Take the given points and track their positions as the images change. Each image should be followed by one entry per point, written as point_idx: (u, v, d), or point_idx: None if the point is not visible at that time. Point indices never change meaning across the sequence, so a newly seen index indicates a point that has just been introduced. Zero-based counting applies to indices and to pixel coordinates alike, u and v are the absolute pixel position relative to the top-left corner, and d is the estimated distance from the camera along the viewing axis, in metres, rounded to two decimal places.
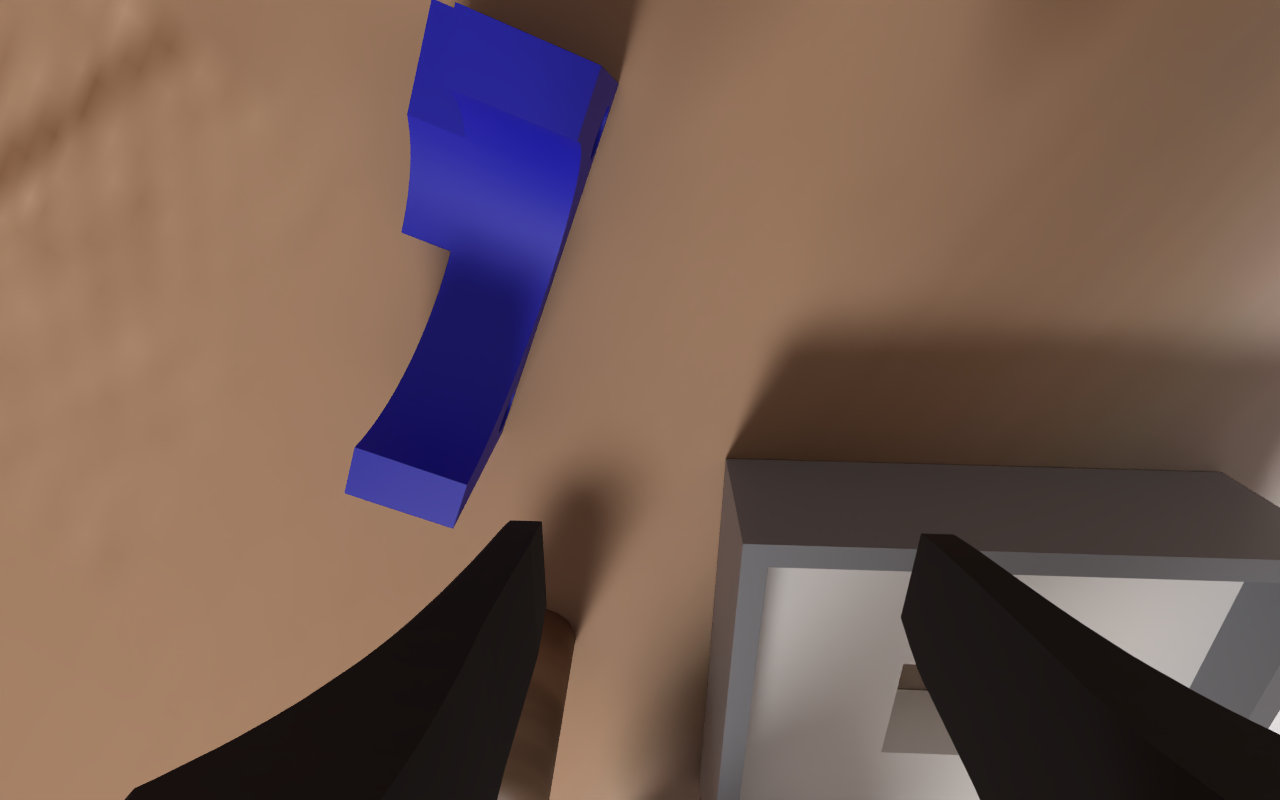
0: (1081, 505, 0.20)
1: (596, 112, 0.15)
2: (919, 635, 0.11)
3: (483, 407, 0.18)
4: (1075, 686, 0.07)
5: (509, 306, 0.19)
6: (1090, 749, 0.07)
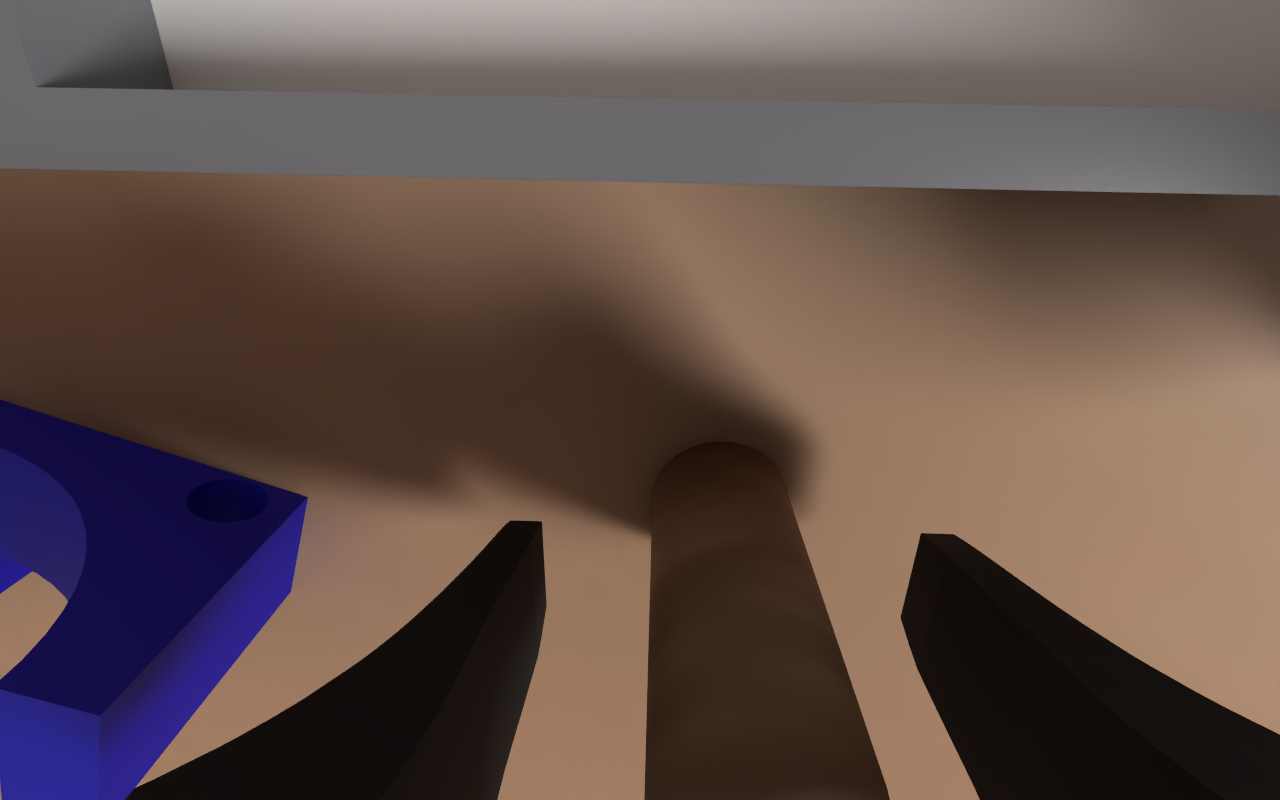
0: None
1: None
2: (919, 635, 0.11)
3: None
4: (1076, 687, 0.07)
5: (21, 491, 0.13)
6: (1090, 749, 0.07)
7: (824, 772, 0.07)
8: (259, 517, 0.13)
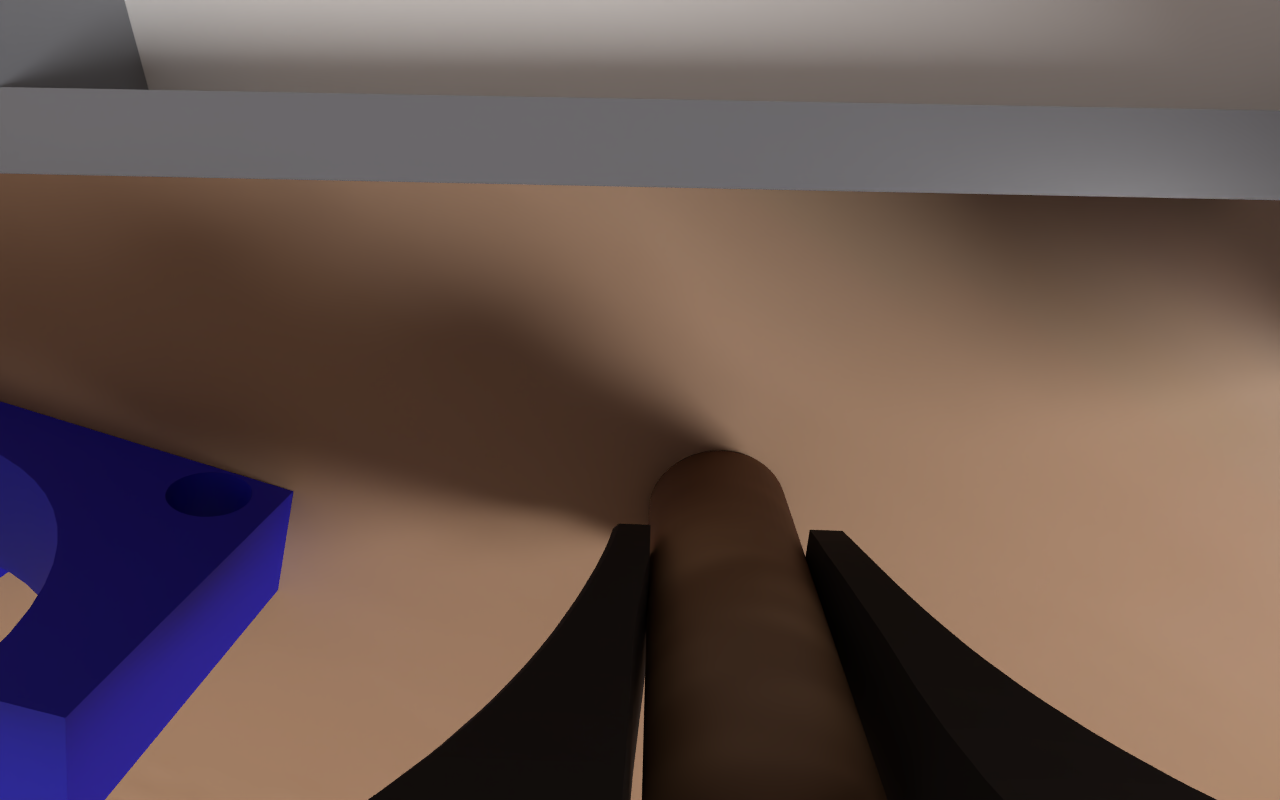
0: None
1: None
2: None
3: None
4: (906, 681, 0.08)
5: None
6: (914, 742, 0.07)
7: None
8: (242, 511, 0.13)
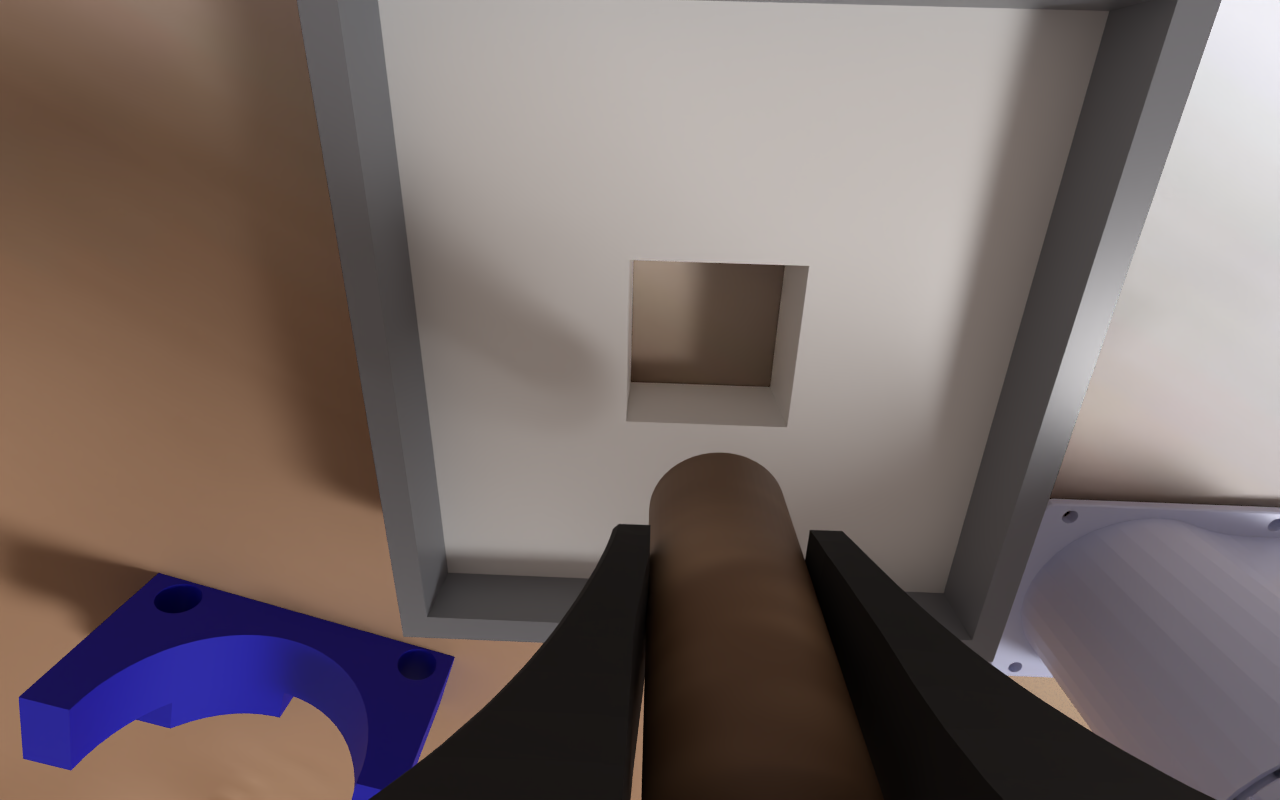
0: None
1: (104, 651, 0.21)
2: None
3: (362, 715, 0.23)
4: (906, 680, 0.08)
5: (312, 665, 0.24)
6: (914, 742, 0.07)
7: None
8: (434, 674, 0.25)
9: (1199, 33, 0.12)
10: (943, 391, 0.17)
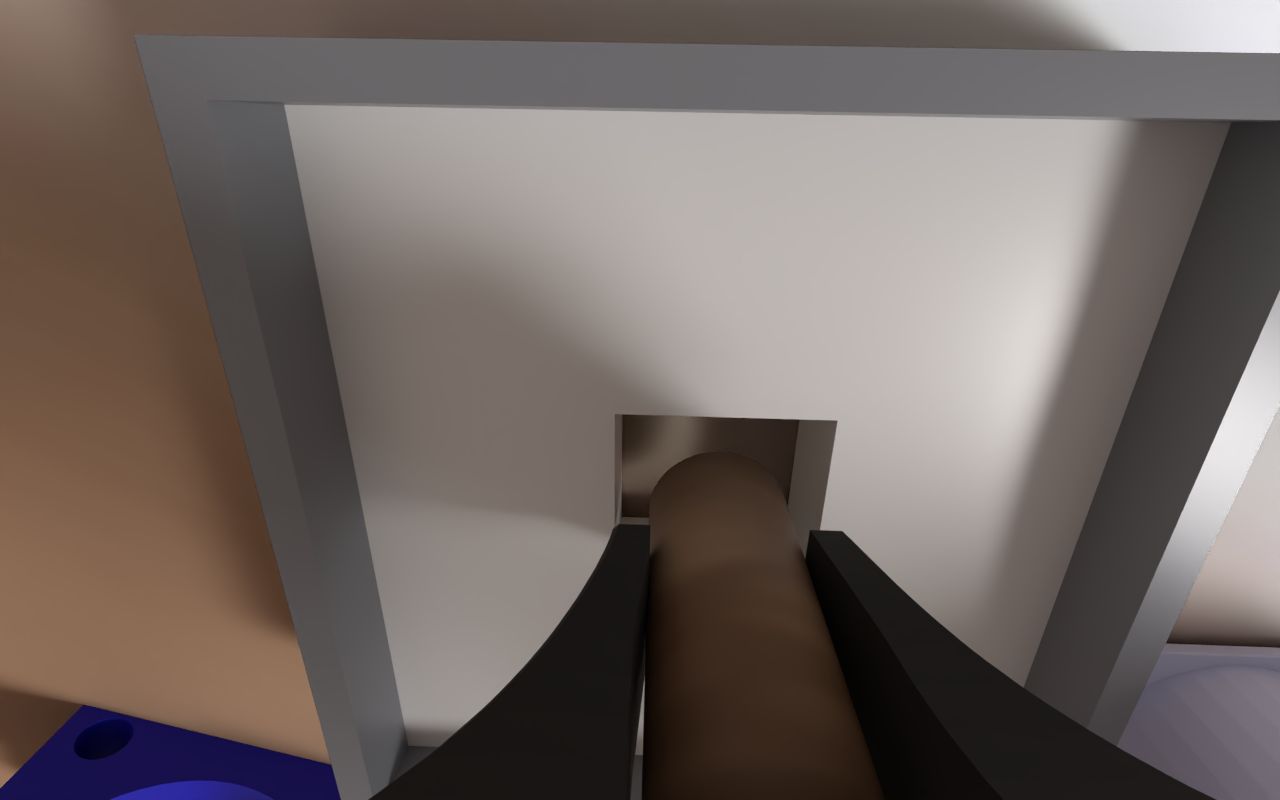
0: None
1: None
2: None
3: None
4: (906, 680, 0.08)
5: None
6: (914, 742, 0.07)
7: None
8: None
9: None
10: (1000, 558, 0.14)
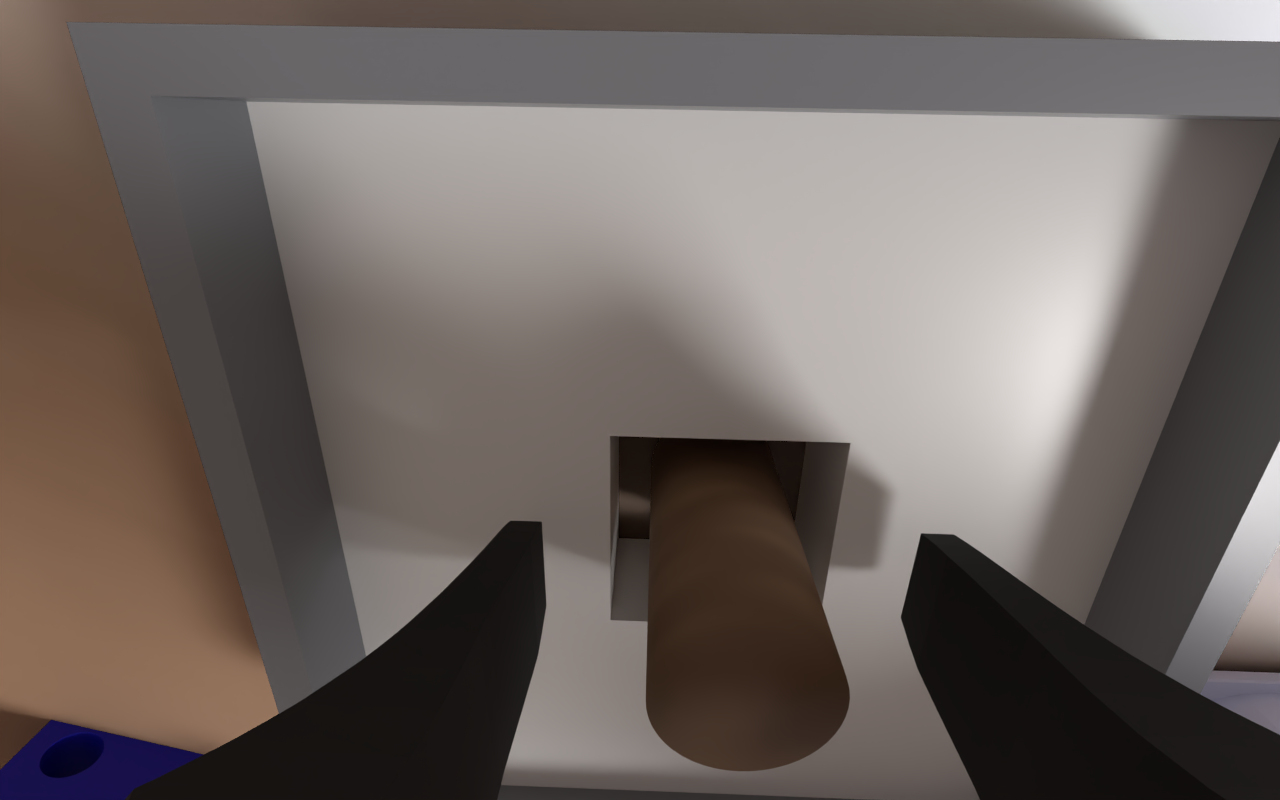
0: None
1: None
2: (919, 635, 0.11)
3: None
4: (1075, 686, 0.07)
5: None
6: (1090, 749, 0.07)
7: (794, 664, 0.09)
8: None
9: None
10: None
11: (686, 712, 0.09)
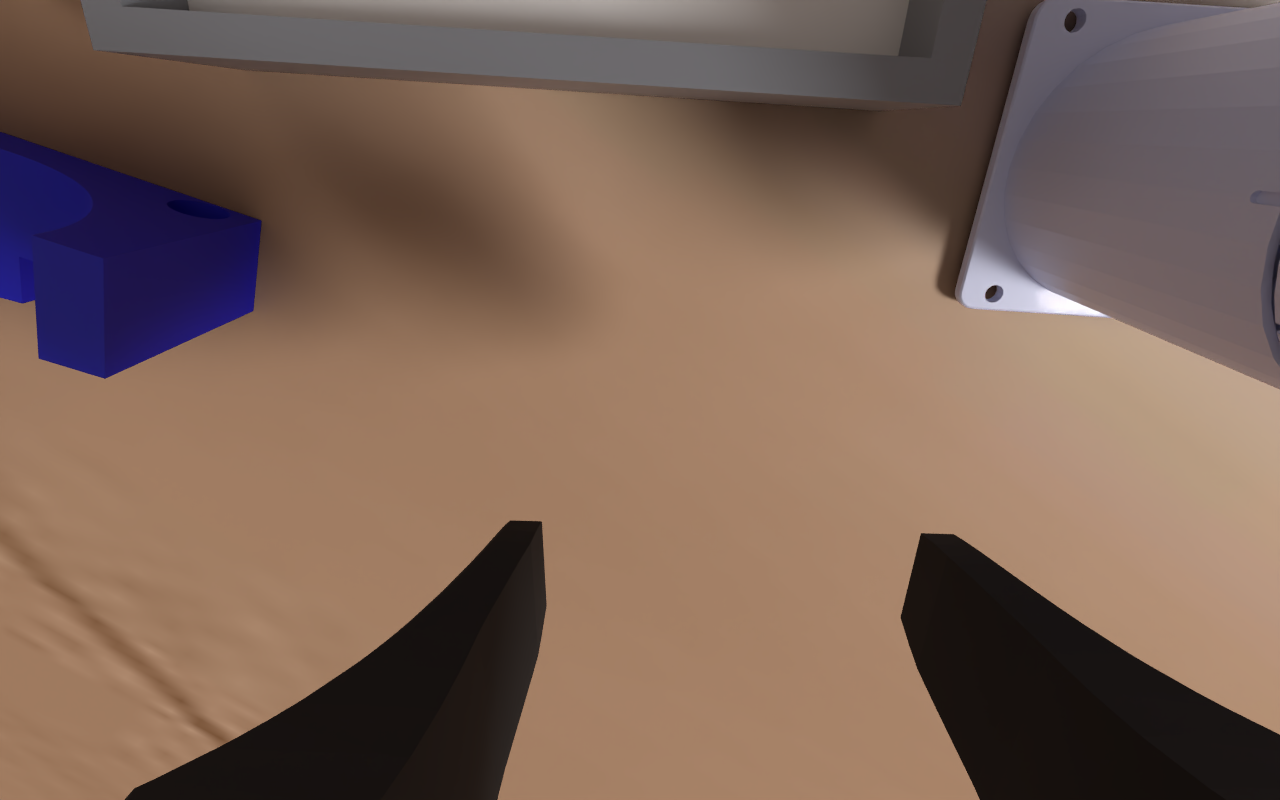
0: None
1: None
2: (919, 635, 0.11)
3: None
4: (1075, 686, 0.07)
5: (45, 196, 0.17)
6: (1090, 749, 0.07)
7: None
8: (222, 220, 0.18)
9: None
10: None
11: None
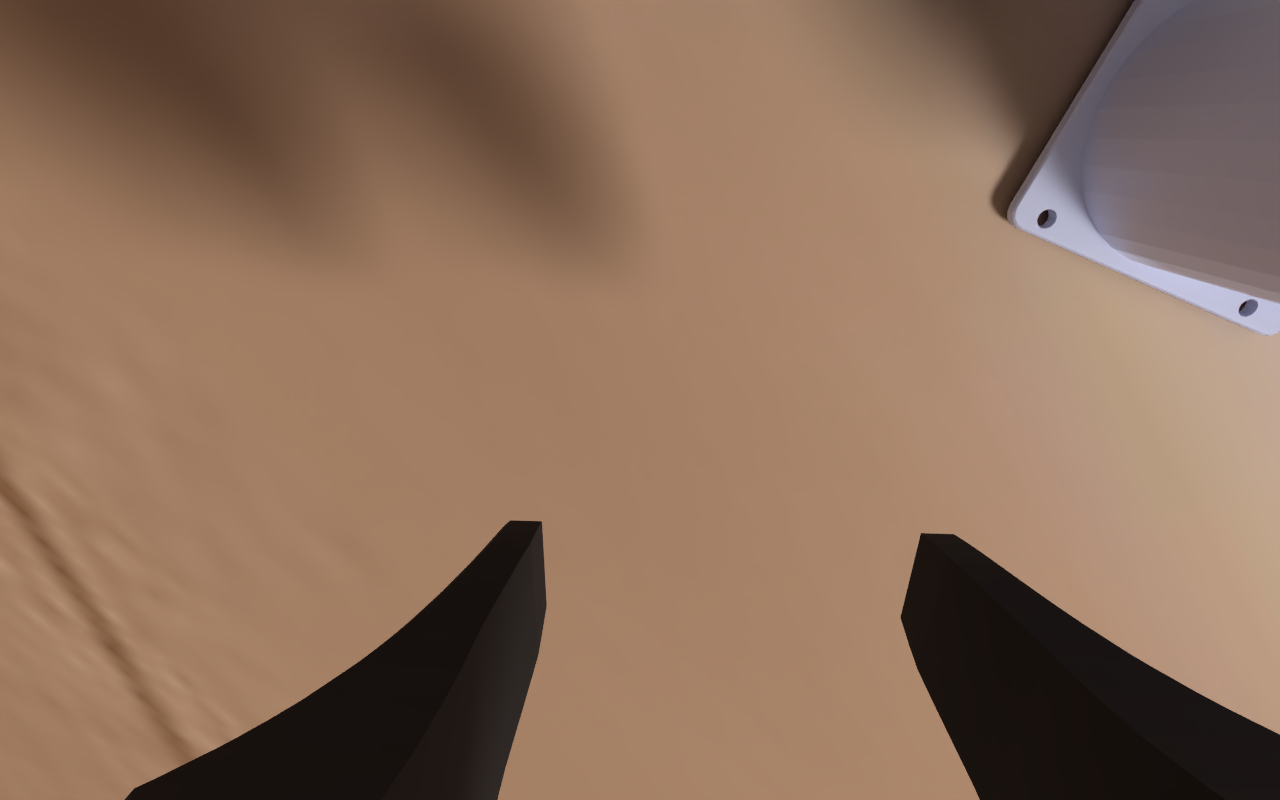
0: None
1: None
2: (919, 635, 0.11)
3: None
4: (1075, 686, 0.07)
5: None
6: (1090, 749, 0.07)
7: None
8: None
9: None
10: None
11: None
